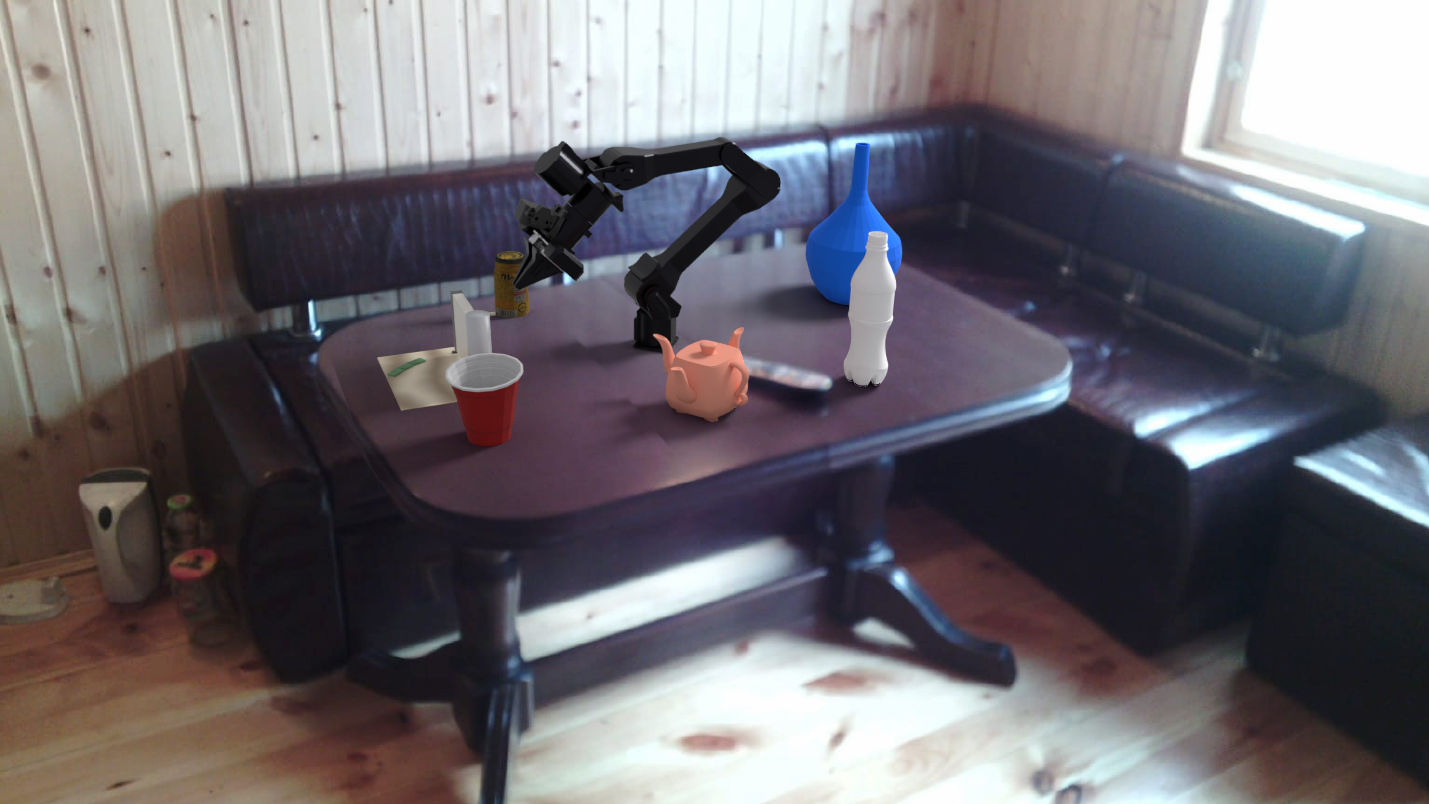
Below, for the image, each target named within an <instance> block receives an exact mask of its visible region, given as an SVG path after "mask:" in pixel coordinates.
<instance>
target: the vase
mask: <svg viewBox="0 0 1429 804" xmlns="http://www.w3.org/2000/svg"><path fill="white" fill-rule="evenodd" d="M870 149H871V144H870V143H868V142H857V143H855V147H854V156H853V165H852V173H851V175H852V176H851V187H850V190H849V192H848V195H847V197H846V198H845V200H844V201H843V202H842V203H841V204H840V205H839V206H838V207H837V208H836V209H834V211H833V212H832V213H830V215H829V216H827V218H825V219H824V220H823V221H821V223H819V224H818V225H817V226H816V227H814V228H813V229H812V230H811V232H810V233H809V234H808V238H807V241H806V244H805V261H806V264H807V268H808V272H809V275H810V278H811V281H812V283H813V284H814V286H815V288H816V289H817V290H818V291H819V293H820V294H821V295H822V296H823V297H824V298H825V299H826V300H828V301H830V302H833V303H836V304H839V305H845V306H850V295H851V280H852V277H853V275H854V273H855V271H856V269H857V268H858V266H859V265H860V263H861V262H862V260H863V259H864V257H865V255H866V251H867V249H866V248H865V247H866V245H867V242H868V235H869V233H870V232H873V231H879V232H884V233H887V234H888V240H887V244H888V246H887V247H888V251H887V259H888V262H889V264H890V266H891V269H892V271H893V274H894V276H895V277H896V275H897V273H898V271H899V268H900V267H901V264H902V257H903V248H902V247H903V246H902V241H901V238H900V236H899V235H898V233H896V231H894V230H893V228H892V227H891V226H890V225H889V223H887V221H886V220H885V219H884V217H883V216H882V215H881V214H880V212H879V211H878V210H877V209H876V206H875V205H874V204H873V203H872V201H871V200H870V196H869V193H868V182H869V180H868V179H869V170H870V169H869V168H870V167H869V166H870V153H871V152H870Z"/></svg>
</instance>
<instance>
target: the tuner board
mask: <svg viewBox="0 0 1429 804" xmlns="http://www.w3.org/2000/svg"><path fill="white" fill-rule="evenodd" d="M376 359H377V362H378V364H379V365H380V367H381V370H382V372H383V374H384V376H385V378H386V380H387V383H388V384H389V387H390V388H391V389H390V390H391V391H392V394H393V395H394V398H395V400H396V403H397V405H398V407H399V409H400V411H401V412H403V411H408V410H415V409H416V410H417V409H422V408H428V407H434V406H440V405H441V406H442V405H445V404H453V403H457V399H456V395H455V394H454V391H453V389H452V386H451V384H450V383H449V382H448V381H447V380H446V370H447V369H448V368H449V367H450V366H451V364H452V363H454V362H456V361H458V360H460V359H461V358H460V356H459V354H458V353H457V352H456V351H455V348H454V346H451V347H445V348H436V349H429V350H421V351H416V352H407V353H399V354H394V355H385V356H378V357H377V358H376Z"/></svg>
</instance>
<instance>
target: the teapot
mask: <svg viewBox="0 0 1429 804" xmlns="http://www.w3.org/2000/svg"><path fill="white" fill-rule="evenodd" d="M744 330H745V328H744V327H742V326H741V327H739V328H737V329H735V330H734V331H733V332H732V334H731V336H730V339H729V341H728V344H725V343H720V342H717V341H713V340H708V339H701V340H698V341H695V342H693V343H691V344H689V345H686V346H685V347H683V348H682V349H680V350H679V351H678V352H677V353H676V354H675V352H674V350H673V347H672V346H671V344H670V342H669V341H668V339H667V338H665V337H664V336H662V335H658V334H653V336H654V337H655V338H656V339H657V340H658V341H659V343H660V344H661V347H662V350H663V352H662V359H663V367H664V371H665V374H666V375H667V379H666V383H665V389H664V391H665V393H664V394H665V395H664V396H665V399H666V401H667V403H668V405H669V407H670V408H671V409H674V410H675V412H677V413H679V414H688V415H691V416H692V415H693V416H695V417H700V418H703V419H704V420H705V421H706V420H707V421H706V422H708V421H716V420H718V418H719V417H722V416H724V415H726V414H728V413H729V412H731V411H733V410H735V409H736V408H737V407H738V406H739V407H742V406H746V404H747V403H748V400H749V399H748V395H747V392H748V388H749V379H750V371H749V368H748V367H747V366H746V364H745V361H744V357H743V354H742V352H741V349H740V339H741V336H742V335H743V333H744ZM734 408H735V409H734ZM718 421H719V420H718ZM716 422H717V421H716Z"/></svg>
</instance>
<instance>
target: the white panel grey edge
mask: <svg viewBox="0 0 1429 804" xmlns="http://www.w3.org/2000/svg"><path fill="white" fill-rule="evenodd" d="M449 292H450V305H451V306H450V307H451V318H452V319H451V320H452V332H453V333H452V335H453V345H454V346H453V347H454V348H455V351H456V352H457V353H458V354H459V356H460V358H461V359H462V358H465V357H468V356H472V355H476V354H485V353H493V351H492V350H493V349H492V335H491V334H492V333H491V316H490V314H489V312H490V311H487V310H482V309H474V308H473V306H472V305H471V303H470V301H468V299H467V298H466V296H465V294H463V293H464V292H463V290H460V289H459V290H453V291H452V290H450V291H449Z"/></svg>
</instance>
